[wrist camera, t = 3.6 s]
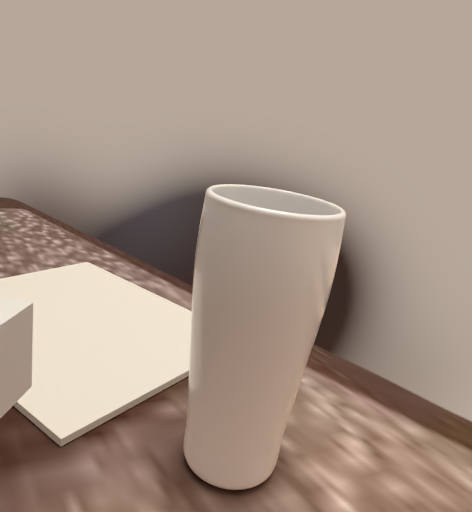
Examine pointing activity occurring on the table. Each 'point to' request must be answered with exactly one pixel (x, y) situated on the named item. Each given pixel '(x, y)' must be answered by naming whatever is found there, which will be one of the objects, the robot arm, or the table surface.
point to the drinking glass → (253, 324)
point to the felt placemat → (96, 347)
